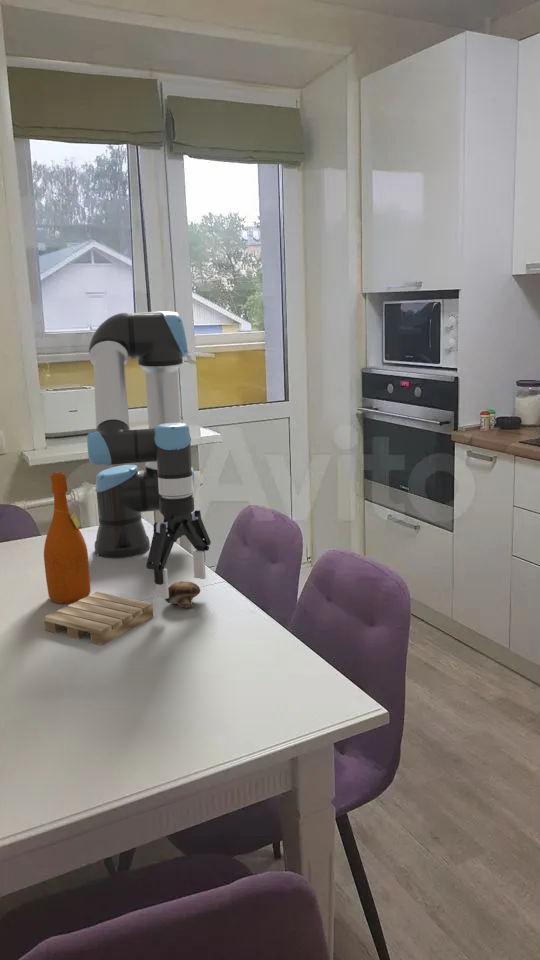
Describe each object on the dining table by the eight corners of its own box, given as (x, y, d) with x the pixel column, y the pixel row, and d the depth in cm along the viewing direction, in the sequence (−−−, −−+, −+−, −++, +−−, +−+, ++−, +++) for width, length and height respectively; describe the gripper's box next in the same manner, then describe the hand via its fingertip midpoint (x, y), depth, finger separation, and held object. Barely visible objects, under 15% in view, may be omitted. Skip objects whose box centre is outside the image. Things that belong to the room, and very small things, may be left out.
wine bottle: (66, 608, 167) (53, 478, 161) (39, 599, 173) (25, 474, 167) (100, 594, 175) (89, 470, 168) (73, 586, 181) (61, 466, 174)
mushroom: (197, 600, 161) (188, 573, 163) (164, 614, 162) (156, 587, 164) (208, 604, 169) (200, 578, 171) (177, 617, 170) (169, 591, 172)
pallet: (98, 603, 170) (97, 591, 169) (153, 616, 162) (152, 603, 161) (45, 630, 156) (43, 616, 156) (102, 645, 148) (101, 631, 147)
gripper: (196, 482, 174) (201, 568, 178) (124, 506, 153) (132, 603, 157) (222, 484, 170) (227, 572, 174) (152, 509, 149) (160, 609, 154)
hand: (182, 587), depth 166 cm, fingers open, 13 cm apart
